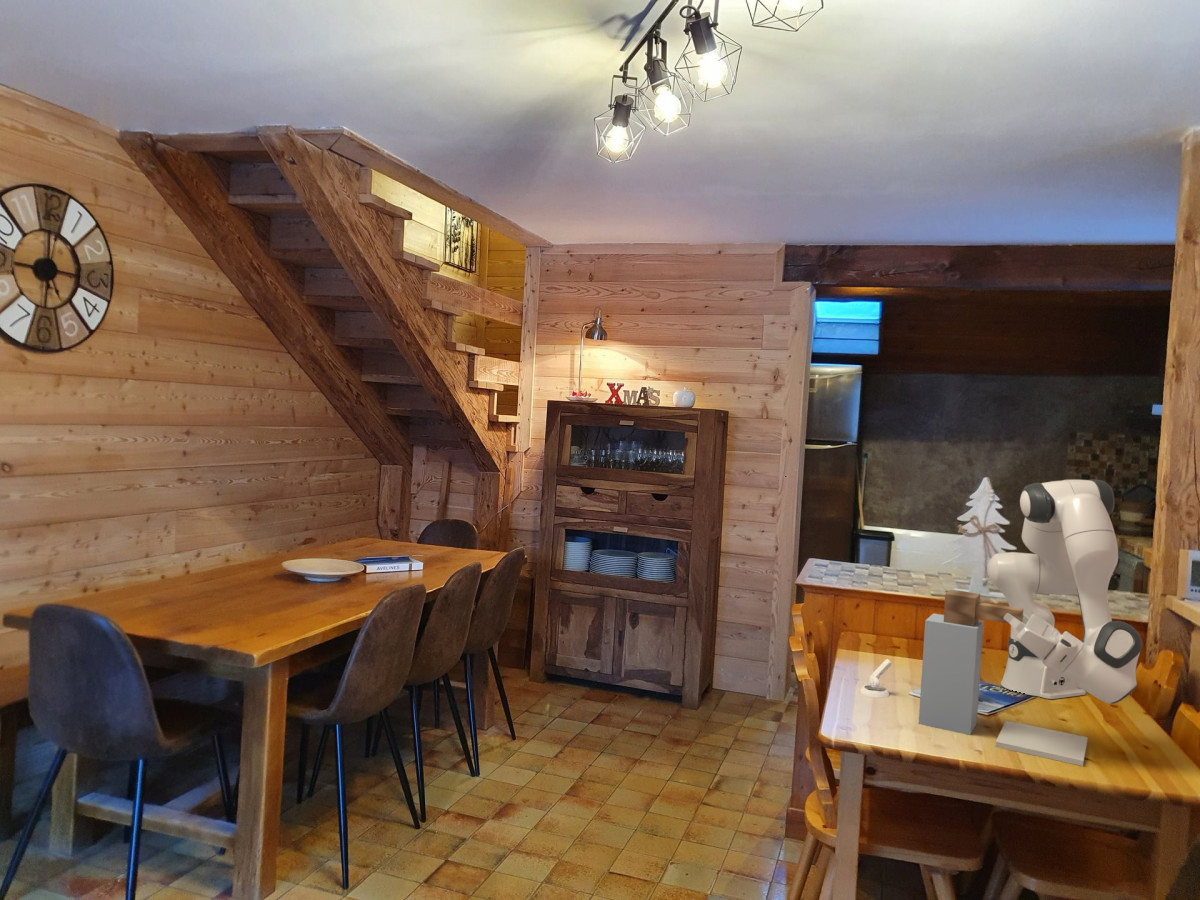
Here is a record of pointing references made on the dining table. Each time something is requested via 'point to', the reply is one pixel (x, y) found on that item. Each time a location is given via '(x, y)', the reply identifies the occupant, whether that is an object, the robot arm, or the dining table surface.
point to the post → (950, 675)
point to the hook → (877, 682)
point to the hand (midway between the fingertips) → (1007, 612)
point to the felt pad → (1043, 742)
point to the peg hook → (974, 609)
